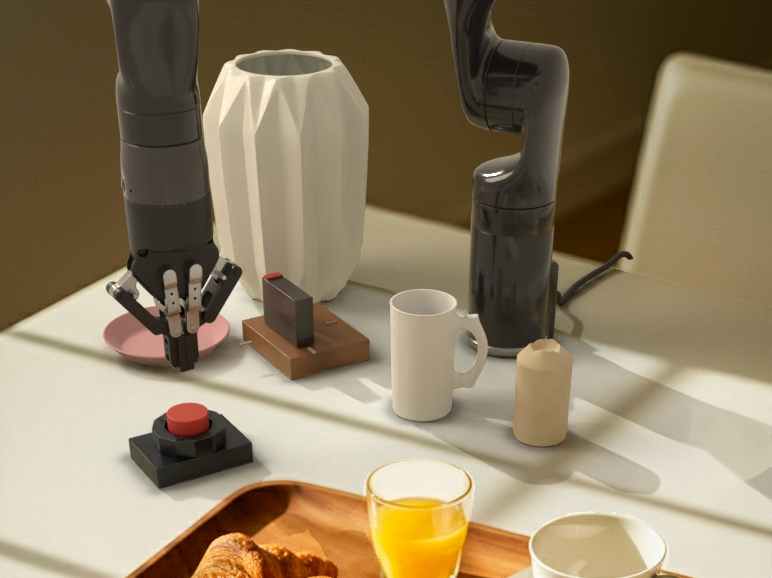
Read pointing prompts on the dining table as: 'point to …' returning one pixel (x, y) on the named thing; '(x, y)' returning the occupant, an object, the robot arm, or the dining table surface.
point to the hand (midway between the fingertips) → (183, 367)
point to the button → (188, 419)
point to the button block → (189, 451)
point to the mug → (429, 353)
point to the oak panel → (329, 350)
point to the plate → (157, 338)
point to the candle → (542, 393)
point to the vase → (288, 168)
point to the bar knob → (288, 309)
